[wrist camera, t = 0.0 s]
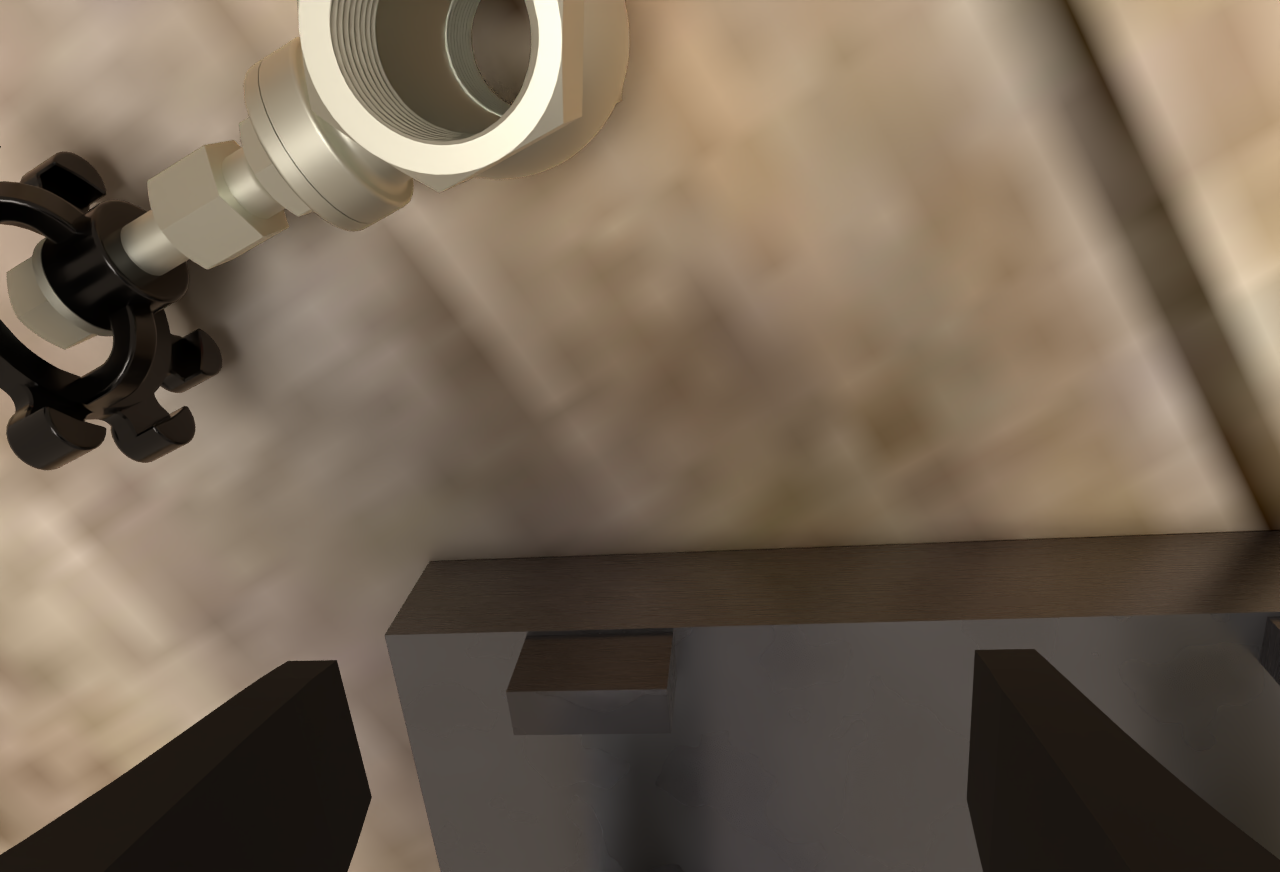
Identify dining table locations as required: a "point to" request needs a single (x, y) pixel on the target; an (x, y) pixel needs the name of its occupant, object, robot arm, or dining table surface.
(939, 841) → the grey flat block
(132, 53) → the dining table surface
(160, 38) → the dining table surface
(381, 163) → the valve
